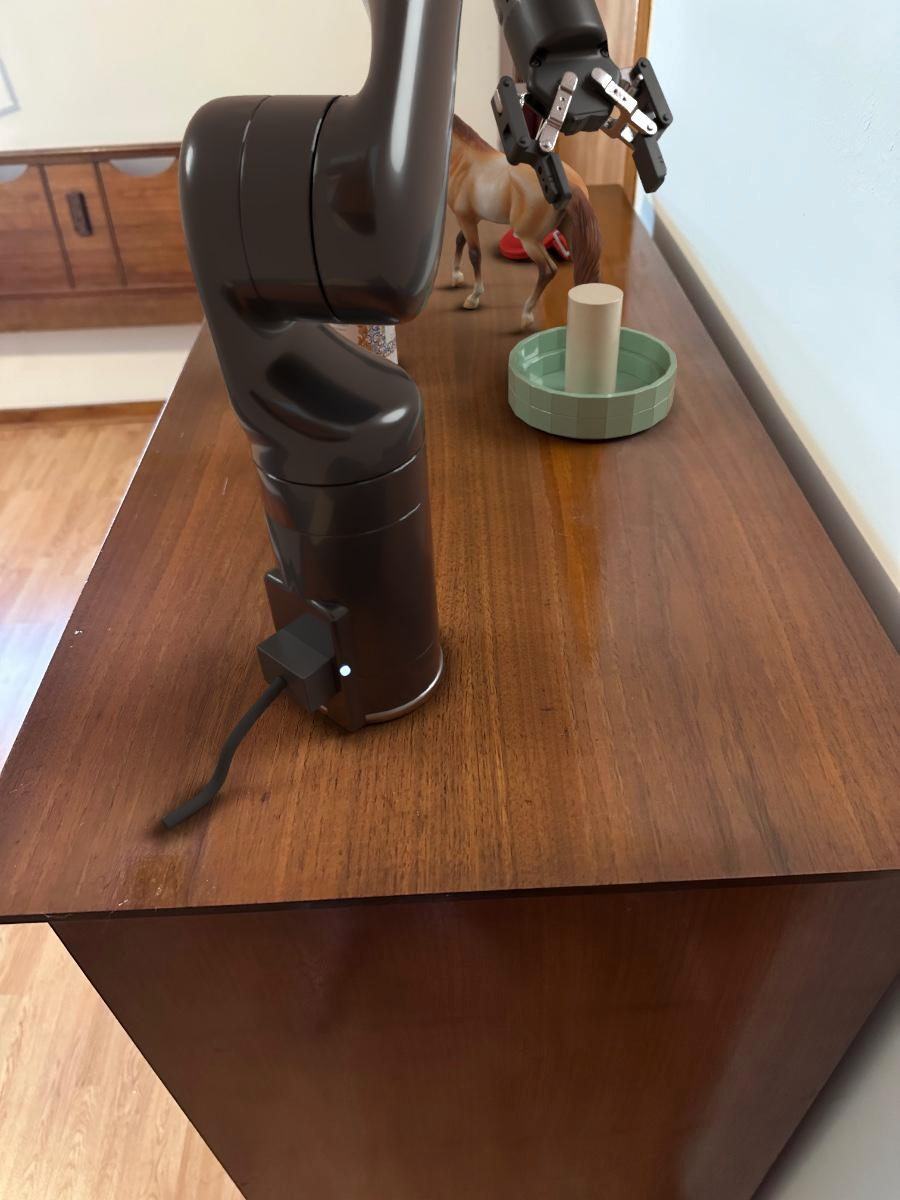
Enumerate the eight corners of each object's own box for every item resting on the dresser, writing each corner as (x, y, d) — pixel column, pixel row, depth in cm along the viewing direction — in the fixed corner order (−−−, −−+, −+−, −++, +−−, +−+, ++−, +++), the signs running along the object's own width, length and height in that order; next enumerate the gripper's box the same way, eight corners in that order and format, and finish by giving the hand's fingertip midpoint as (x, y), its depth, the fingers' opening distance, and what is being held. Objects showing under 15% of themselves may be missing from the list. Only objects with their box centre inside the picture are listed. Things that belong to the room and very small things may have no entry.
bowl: (610, 461, 76) (614, 415, 73) (476, 409, 84) (475, 365, 81) (701, 395, 84) (708, 350, 82) (571, 353, 92) (573, 311, 90)
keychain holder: (487, 251, 113) (509, 208, 118) (498, 281, 116) (519, 238, 121) (578, 237, 107) (597, 192, 113) (587, 269, 110) (605, 224, 116)
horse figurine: (400, 289, 108) (386, 98, 95) (449, 273, 112) (442, 86, 98) (585, 371, 89) (599, 147, 76) (637, 348, 93) (659, 130, 79)
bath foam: (317, 379, 90) (285, 168, 78) (355, 352, 95) (331, 148, 82) (374, 392, 88) (351, 176, 75) (410, 364, 92) (394, 155, 79)
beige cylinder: (595, 414, 81) (602, 308, 75) (553, 399, 84) (556, 295, 78) (624, 394, 84) (634, 290, 78) (583, 380, 87) (589, 279, 80)
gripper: (480, -18, 66) (550, 182, 65) (642, -35, 70) (710, 154, 70) (453, 54, 73) (516, 236, 73) (602, 35, 77) (663, 207, 77)
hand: (611, 196), depth 71 cm, fingers open, 8 cm apart
